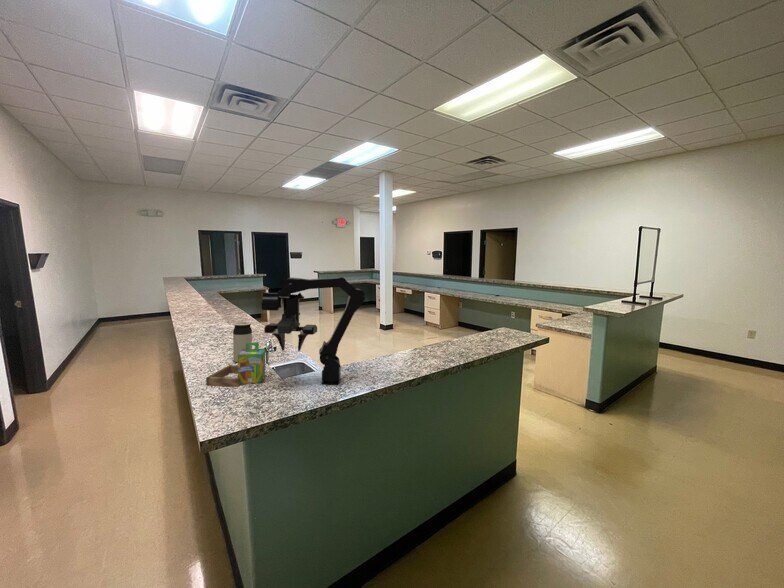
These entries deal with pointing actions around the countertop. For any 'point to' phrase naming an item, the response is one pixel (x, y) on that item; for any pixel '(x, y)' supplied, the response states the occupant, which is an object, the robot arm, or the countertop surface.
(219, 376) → the block
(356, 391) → the countertop surface
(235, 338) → the travel mug
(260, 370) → the chalk box
